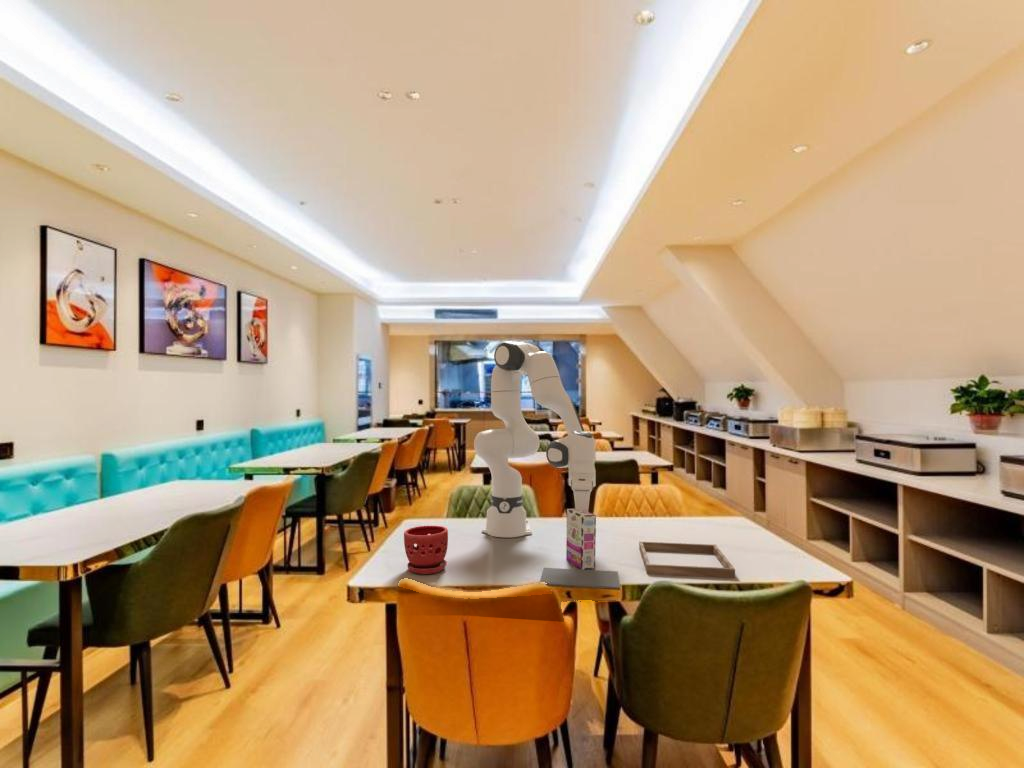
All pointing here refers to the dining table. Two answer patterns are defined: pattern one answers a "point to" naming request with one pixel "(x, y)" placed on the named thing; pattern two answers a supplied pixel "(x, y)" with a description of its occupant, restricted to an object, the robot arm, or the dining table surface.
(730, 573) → the serving tray rim
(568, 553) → the candy bar box
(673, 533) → the dining table surface
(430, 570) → the plant pot
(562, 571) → the mat
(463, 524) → the dining table surface
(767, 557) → the dining table surface
